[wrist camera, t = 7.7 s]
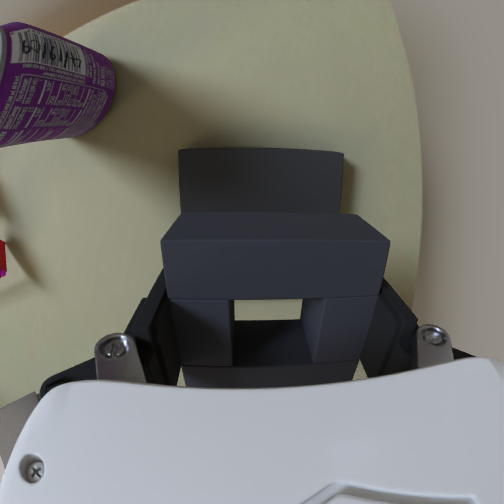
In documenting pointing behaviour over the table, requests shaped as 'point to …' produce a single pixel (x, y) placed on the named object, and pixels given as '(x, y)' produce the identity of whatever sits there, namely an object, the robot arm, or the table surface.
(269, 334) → the dark grey socket block
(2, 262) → the glasses
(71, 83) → the beverage can
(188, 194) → the black base pad
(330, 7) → the table surface
